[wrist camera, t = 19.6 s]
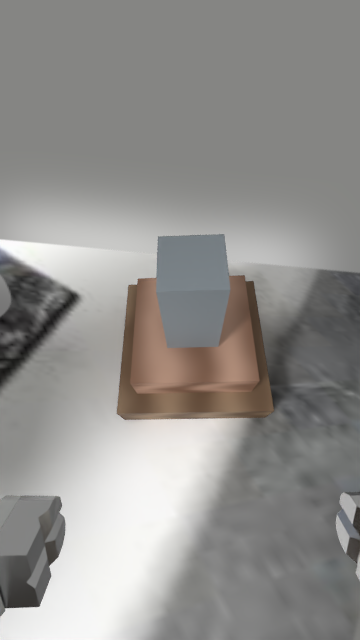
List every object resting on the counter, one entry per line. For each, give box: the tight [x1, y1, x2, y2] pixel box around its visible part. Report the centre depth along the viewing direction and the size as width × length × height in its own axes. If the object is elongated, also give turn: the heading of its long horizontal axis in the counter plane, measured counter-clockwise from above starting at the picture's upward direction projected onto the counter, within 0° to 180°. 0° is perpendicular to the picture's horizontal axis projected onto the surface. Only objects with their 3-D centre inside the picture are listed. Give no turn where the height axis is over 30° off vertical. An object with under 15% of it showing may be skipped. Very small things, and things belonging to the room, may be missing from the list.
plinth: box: [117, 275, 274, 420], centre depth 33 cm, size 16×16×8 cm
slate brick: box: [156, 234, 230, 348], centre depth 25 cm, size 5×5×10 cm
